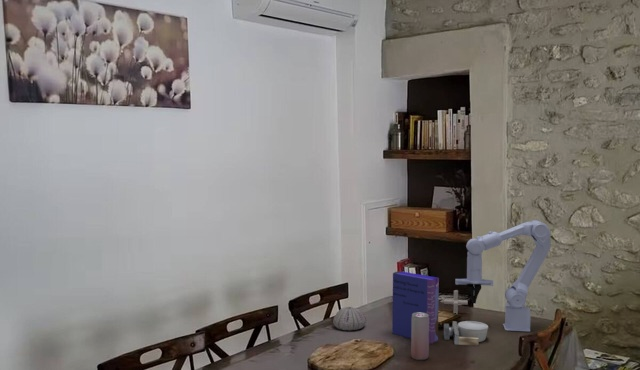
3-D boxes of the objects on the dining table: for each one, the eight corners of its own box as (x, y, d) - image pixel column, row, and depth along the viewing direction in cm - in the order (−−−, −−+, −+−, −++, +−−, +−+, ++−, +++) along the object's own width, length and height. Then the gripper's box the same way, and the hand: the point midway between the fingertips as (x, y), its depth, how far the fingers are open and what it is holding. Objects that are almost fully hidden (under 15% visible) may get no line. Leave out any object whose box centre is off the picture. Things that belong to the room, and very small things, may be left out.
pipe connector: (467, 317, 260) (468, 294, 259) (443, 316, 262) (444, 292, 261) (467, 311, 269) (467, 288, 269) (443, 309, 271) (444, 287, 271)
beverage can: (409, 354, 214) (409, 312, 213) (426, 354, 214) (426, 312, 213) (413, 360, 208) (413, 317, 207) (430, 360, 208) (431, 316, 207)
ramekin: (488, 335, 235) (489, 322, 234) (487, 344, 224) (487, 330, 224) (458, 332, 238) (459, 319, 238) (456, 341, 228) (456, 327, 227)
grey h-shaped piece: (456, 331, 240) (456, 320, 240) (458, 344, 224) (459, 332, 224) (443, 330, 241) (443, 319, 241) (444, 343, 225) (445, 332, 225)
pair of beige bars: (474, 332, 239) (474, 326, 239) (478, 345, 223) (478, 339, 223) (456, 331, 240) (456, 325, 240) (458, 344, 224) (458, 337, 224)
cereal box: (437, 340, 229) (438, 277, 227) (430, 344, 225) (431, 279, 224) (399, 331, 241) (400, 270, 239) (392, 333, 237) (392, 272, 235)
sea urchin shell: (373, 328, 245) (373, 308, 244) (346, 334, 237) (347, 314, 236) (351, 320, 255) (351, 301, 255) (325, 326, 247) (325, 306, 247)
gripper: (456, 270, 241) (455, 304, 242) (494, 271, 239) (493, 306, 240) (455, 267, 248) (454, 300, 249) (492, 268, 246) (491, 301, 247)
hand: (473, 302), depth 245 cm, fingers closed
